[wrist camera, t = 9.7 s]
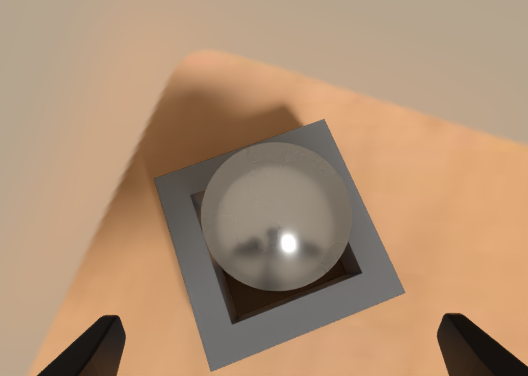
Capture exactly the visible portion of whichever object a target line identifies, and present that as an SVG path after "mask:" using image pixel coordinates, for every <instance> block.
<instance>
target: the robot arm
mask: <svg viewBox="0 0 528 376" xmlns="http://www.w3.org/2000/svg"><path fill="white" fill-rule="evenodd" d="M437 339H438V343H439V346H440V349H441V352H442V355H443V358H444V361H445V364H446V368H447V371H448V374H449V376H528V366H526V365H525V364H524V363H523V362H521V361H520V360H519V359H518V358H516V357H515V356H514V355H513V354H511V353H510V352H509V351H508V350H506V349H505V348H504V347H503V346H502V345H500V344H499V343H498V342H497V341H495V340H494V339H493V338H492V337H490V336H489V335H488V334H487V333H485V332H484V331H483V330H482V329H480V328H479V327H478V326H477V325H475V324H474V323H473V322H472V321H471V320H469V319H468V318H467V317H466V316H464V315H463V314H460V313H446V314H445V315H444V316H443V318H442V321H441V323H440V326H439V329H438V332H437ZM125 340H126V335H125V331H124V328H123V325H122V322H121V320H120V317H119V316H118V315H104V316H102V317H100V318H99V319H98V320H97V321H96V322H95V323H94V324H93V325H92V326H91V327H89V328H88V329H87V330H86V331H85V332H84V333H83V334H82V335H81V336H80V337H79V338H77V339H76V340H75V341H74V342H73V343H72V344H71V345H70V346H69V347H68V348H67V349H65V350H64V351H63V352H62V353H61V354H60V355H59V356H58V357H57V358H56V359H55V360H53V361H52V362H51V363H50V364H49V365H48V366H47V367H46V368H45V369H44V370H43V371H41V372H40V373H39V374H38V375H37V376H117V372H118V368H119V364H120V360H121V356H122V353H123V349H124V345H125Z"/></svg>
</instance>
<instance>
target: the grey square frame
mask: <svg viewBox="0 0 528 376" xmlns="http://www.w3.org/2000/svg"><path fill="white" fill-rule="evenodd" d="M269 142H282V143H290V144H295V145H298V146H301V147H304V148H307V149H309V150H311V151H313V152H315V153H316V154H318V155H319V156H321V157H322V158H323V159H324V160H326V161H327V162H328V163H329V164H330V165H331V166H332V167H333V168H334V169H335V170H336V172H337V173H338V175H339V176H340V177H341V179H342V181H343V183H344V185H345V186H346V189H347V192H348V194H349V198H350V202H351V208H352V227H351V232H350V237H349V240H348V243H347V245H346V247H345V250H344V252H343V254H342V255H341V257H340V260H341V262H342V265H343V267H344V269H345V272H346V274H345V275H343V276H340V277H338V278H335V279H333V280H330V281H328V282H325V283H323V284H320V285H318V286H315V287H313V288H310V289H307V290H305V291H302V292H300V293H297V294H295V295H292V296H290V297H287V298H285V299H282V300H280V301H277V302H275V303H272V304H269V305H267V306H264V307H262V308H259V309H257V310H254V311H252V312H249V313H247V314H244V315H242V316H239V317H238V315H237V312H236V309H235V305H234V302H233V299H232V296H231V293H230V290H229V287H228V284H227V281H226V278H225V275H224V272H223V269H222V267H221V266H220V265H219V264H218V263H217V261H216V260H215V259H214V257H213V256H212V254H211V252H210V250H209V249H208V246H207V244H206V241H205V239H204V235H203V231H202V224H201V208H202V201H203V197H204V194H205V191H206V188H207V186H208V184H209V182H210V180H211V178H212V177H213V175H214V174H215V172H216V171H217V170H218V169H219V167H220V166H221V165H222V164H223V163H224V162H225V161H226V160H228V159H229V158H230V157H232V156H233V155H234V154H236V153H238V152H240V151H241V150H243V149H246V148H248V147H251V146H254V145H258V144H262V143H269ZM154 181H155V184H156V187H157V191H158V194H159V198H160V201H161V204H162V208H163V211H164V215H165V218H166V221H167V225H168V228H169V232H170V235H171V238H172V242H173V245H174V249H175V252H176V255H177V259H178V262H179V266H180V269H181V272H182V276H183V279H184V283H185V286H186V289H187V293H188V296H189V300H190V303H191V306H192V310H193V313H194V316H195V320H196V323H197V327H198V330H199V333H200V337H201V340H202V344H203V347H204V350H205V354H206V357H207V361H208V364H209V367H210V371H211V372H212V371H214V370H217V369H219V368H222V367H224V366H227V365H229V364H232V363H234V362H236V361H239V360H241V359H244V358H246V357H249V356H251V355H254V354H256V353H259V352H261V351H264V350H266V349H268V348H271V347H273V346H276V345H278V344H281V343H283V342H286V341H288V340H291V339H293V338H296V337H298V336H300V335H303V334H305V333H308V332H310V331H313V330H315V329H318V328H320V327H323V326H325V325H328V324H330V323H332V322H335V321H337V320H340V319H342V318H345V317H347V316H350V315H352V314H355V313H357V312H360V311H362V310H364V309H367V308H369V307H372V306H374V305H377V304H379V303H382V302H384V301H387V300H389V299H392V298H394V297H396V296H399V295H401V294H404V293H405V291H404V288H403V286H402V284H401V282H400V280H399V278H398V276H397V273H396V271H395V269H394V267H393V265H392V263H391V261H390V259H389V256H388V254H387V252H386V250H385V248H384V246H383V244H382V241H381V239H380V237H379V235H378V233H377V231H376V229H375V226H374V224H373V222H372V220H371V218H370V216H369V214H368V211H367V209H366V207H365V205H364V203H363V201H362V199H361V196H360V194H359V192H358V190H357V188H356V186H355V184H354V181H353V179H352V177H351V175H350V173H349V171H348V169H347V167H346V164H345V162H344V160H343V158H342V156H341V154H340V152H339V149H338V147H337V145H336V143H335V141H334V139H333V137H332V134H331V132H330V130H329V128H328V126H327V124H326V122H325V119H323V120H320V121H317V122H314V123H312V124H309V125H306V126H303V127H300V128H297V129H294V130H292V131H289V132H286V133H283V134H280V135H277V136H274V137H272V138H269V139H266V140H263V141H260V142H257V143H254V144H252V145H249V146H246V147H243V148H240V149H237V150H234V151H232V152H229V153H226V154H223V155H220V156H217V157H214V158H212V159H209V160H206V161H203V162H200V163H197V164H194V165H192V166H189V167H186V168H183V169H180V170H177V171H174V172H172V173H169V174H166V175H163V176H160V177H157V178H154Z"/></svg>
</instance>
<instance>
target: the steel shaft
mask: <svg viewBox="0 0 528 376" xmlns="http://www.w3.org/2000/svg"><path fill="white" fill-rule="evenodd" d="M201 224H202V231H203V235H204V239H205V241H206V244H207V246H208V249H209V250H210V252H211V254H212V256H213V257H214V259H215V260H216V261H217V263H218V264H219V265H220V266H221V267H222V268H223V269H224V270H225V271H226V272H227V273H228V274H230V275H231V276H232V277H233V278H235V279H237V280H238V281H240V282H242V283H244V284H246V285H248V286H251V287H254V288H258V289H261V290H268V291H287V290H293V289H297V288H300V287H303V286H306V285H308V284H310V283H312V282H314V281H316V280H317V279H319V278H320V277H322V276H323V275H325V274H326V273H327V272H328V271H329V270H330V269H331V268H332V267H333V266H334V265H335V264H336V262H337V261H338V260H339V258H340V257H341V255H342V254H343V252H344V250H345V247H346V245H347V243H348V240H349V237H350V232H351V227H352V208H351V202H350V198H349V194H348V192H347V189H346V186H345V185H344V183H343V181H342V179H341V177H340V176H339V175H338V173H337V172H336V170H335V169H334V168H333V167H332V166H331V165H330V164H329V163H328V162H327V161H326V160H324V159H323V158H322V157H321V156H319V155H318V154H316V153H315V152H313V151H311V150H309V149H307V148H304V147H301V146H298V145H295V144H290V143H282V142H269V143H262V144H258V145H254V146H251V147H248V148H246V149H243V150H241V151H240V152H238V153H236V154H234V155H233V156H232V157H230V158H229V159H228V160H226V161H225V162H224V163H223V164H222V165H221V166H220V167H219V169H218V170H217V171H216V172H215V174H214V175H213V177H212V178H211V180H210V182H209V184H208V186H207V188H206V191H205V194H204V197H203V201H202V208H201Z"/></svg>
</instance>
